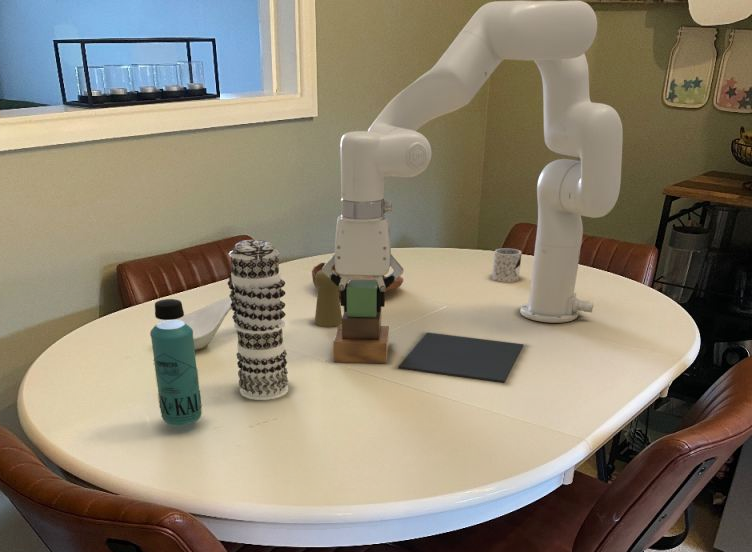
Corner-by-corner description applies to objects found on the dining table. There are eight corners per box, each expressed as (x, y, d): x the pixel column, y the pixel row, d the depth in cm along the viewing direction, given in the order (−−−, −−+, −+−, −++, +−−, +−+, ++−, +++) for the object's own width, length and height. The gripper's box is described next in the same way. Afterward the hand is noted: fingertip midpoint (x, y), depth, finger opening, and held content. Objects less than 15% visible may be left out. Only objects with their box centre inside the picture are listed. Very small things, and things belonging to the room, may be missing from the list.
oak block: (388, 345, 154) (389, 325, 152) (386, 363, 146) (386, 343, 144) (339, 343, 155) (338, 324, 153) (333, 361, 147) (333, 341, 144)
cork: (338, 327, 163) (338, 275, 157) (311, 325, 164) (309, 273, 158) (345, 318, 168) (344, 267, 162) (318, 316, 169) (317, 265, 163)
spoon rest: (180, 361, 146) (175, 324, 142) (147, 345, 153) (141, 310, 149) (277, 332, 160) (275, 298, 156) (243, 319, 167) (240, 286, 163)
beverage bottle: (165, 417, 125) (147, 295, 115) (206, 415, 126) (192, 294, 115) (159, 435, 120) (140, 308, 109) (202, 433, 120) (187, 307, 110)
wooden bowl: (418, 288, 188) (419, 267, 185) (375, 309, 174) (375, 287, 171) (342, 274, 198) (342, 254, 195) (295, 293, 184) (294, 272, 181)
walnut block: (381, 328, 151) (381, 307, 149) (379, 340, 145) (379, 319, 143) (345, 326, 152) (345, 306, 149) (342, 339, 146) (341, 318, 144)
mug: (520, 282, 193) (523, 255, 189) (494, 282, 193) (496, 254, 190) (514, 271, 201) (517, 245, 198) (489, 271, 202) (491, 245, 198)
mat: (523, 346, 155) (523, 344, 154) (504, 382, 139) (504, 380, 138) (426, 334, 160) (427, 332, 160) (398, 368, 144) (398, 366, 144)
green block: (378, 308, 148) (378, 279, 145) (376, 317, 144) (376, 288, 141) (349, 307, 149) (349, 279, 146) (346, 316, 144) (346, 287, 141)
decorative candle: (268, 405, 130) (258, 253, 116) (226, 393, 134) (212, 245, 120) (300, 387, 136) (294, 241, 123) (259, 376, 140) (249, 234, 127)
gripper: (411, 206, 139) (408, 305, 149) (317, 204, 140) (320, 302, 150) (410, 214, 133) (407, 317, 142) (311, 212, 134) (315, 315, 143)
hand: (362, 309), depth 146 cm, fingers closed on green block, 5 cm apart
